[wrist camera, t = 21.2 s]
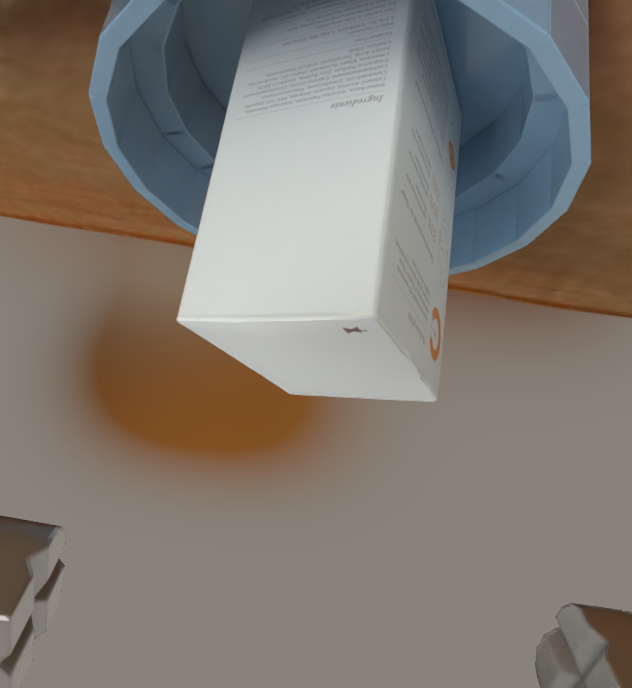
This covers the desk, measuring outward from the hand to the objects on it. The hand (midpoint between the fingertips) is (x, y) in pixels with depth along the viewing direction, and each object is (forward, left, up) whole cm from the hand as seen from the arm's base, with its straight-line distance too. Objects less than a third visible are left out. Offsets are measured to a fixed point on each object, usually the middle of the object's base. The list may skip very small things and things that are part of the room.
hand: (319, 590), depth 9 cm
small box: (-1, +8, -19) cm, 21 cm away
